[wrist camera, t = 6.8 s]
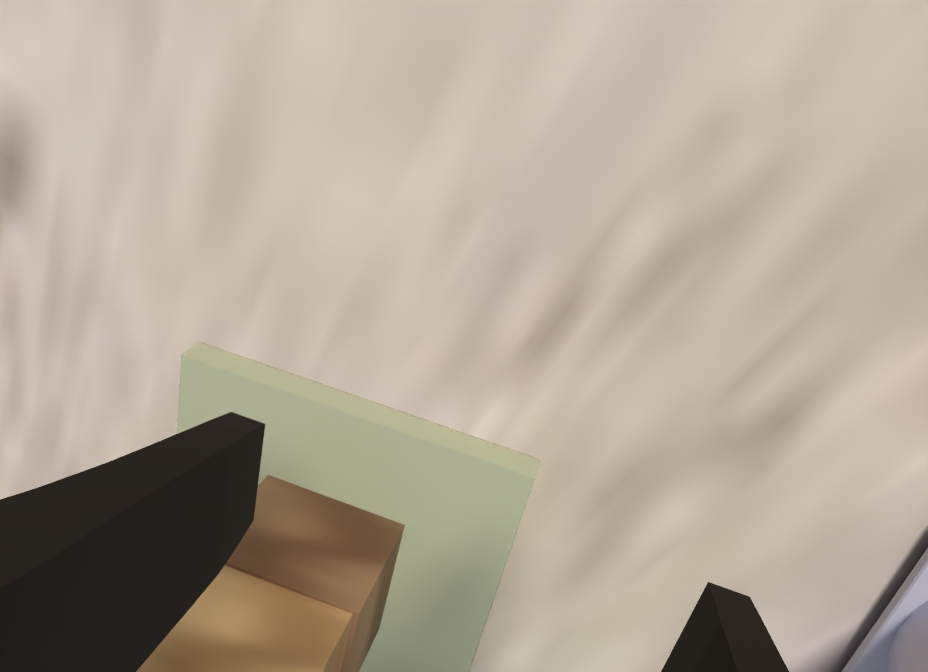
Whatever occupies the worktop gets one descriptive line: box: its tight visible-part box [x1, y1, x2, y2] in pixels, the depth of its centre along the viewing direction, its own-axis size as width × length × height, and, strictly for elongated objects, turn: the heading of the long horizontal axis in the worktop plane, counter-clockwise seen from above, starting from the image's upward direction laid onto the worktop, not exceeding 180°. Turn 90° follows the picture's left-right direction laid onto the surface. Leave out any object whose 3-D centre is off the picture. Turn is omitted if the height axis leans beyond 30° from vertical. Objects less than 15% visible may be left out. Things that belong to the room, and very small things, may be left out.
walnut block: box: [225, 475, 405, 672], centre depth 23 cm, size 5×5×4 cm
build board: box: [177, 342, 540, 672], centre depth 25 cm, size 12×12×1 cm
